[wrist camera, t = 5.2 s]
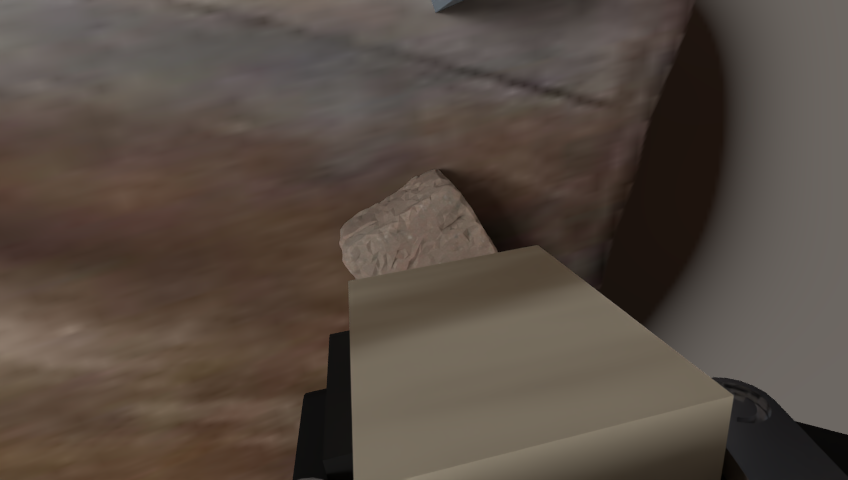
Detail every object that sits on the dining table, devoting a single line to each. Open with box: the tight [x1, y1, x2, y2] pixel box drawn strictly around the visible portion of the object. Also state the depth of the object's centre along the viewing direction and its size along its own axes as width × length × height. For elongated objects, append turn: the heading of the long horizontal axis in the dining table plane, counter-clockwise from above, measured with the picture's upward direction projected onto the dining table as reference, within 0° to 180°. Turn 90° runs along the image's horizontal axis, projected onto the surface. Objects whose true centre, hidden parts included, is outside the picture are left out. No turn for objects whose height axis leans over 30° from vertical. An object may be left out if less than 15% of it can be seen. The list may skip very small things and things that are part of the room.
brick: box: [339, 169, 498, 280], centre depth 29 cm, size 17×8×5 cm, turn 32°
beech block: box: [348, 245, 734, 480], centre depth 9 cm, size 5×5×6 cm
